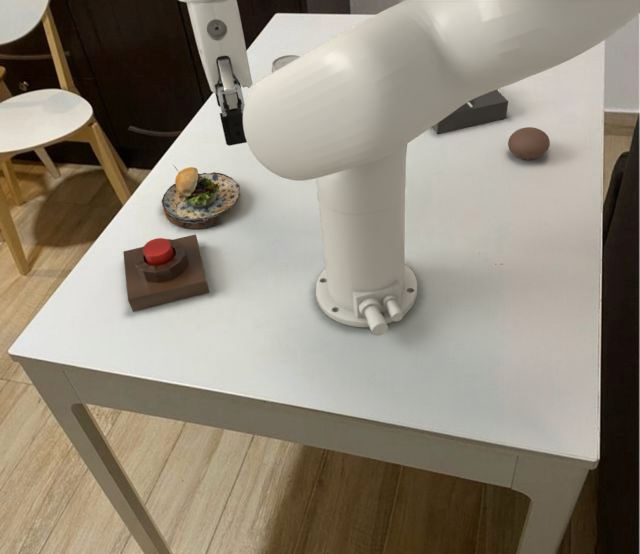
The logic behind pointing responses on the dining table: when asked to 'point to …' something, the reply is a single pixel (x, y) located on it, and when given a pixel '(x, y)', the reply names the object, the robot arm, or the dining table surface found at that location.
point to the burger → (199, 198)
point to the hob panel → (475, 112)
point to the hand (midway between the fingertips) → (234, 122)
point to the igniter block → (165, 275)
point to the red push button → (158, 251)
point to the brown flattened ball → (529, 143)
